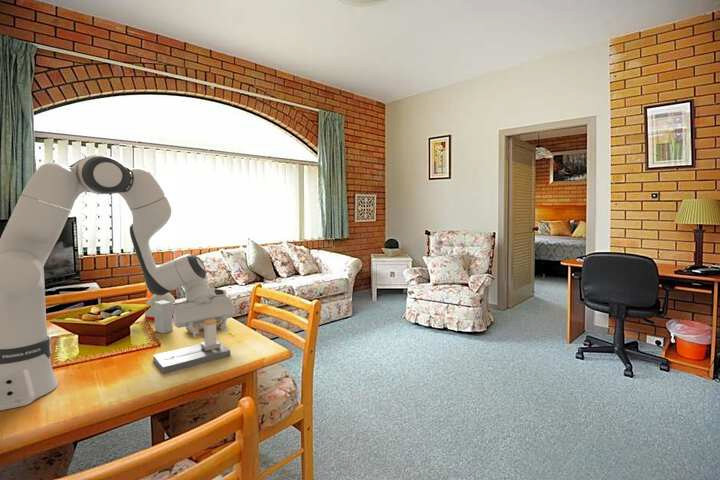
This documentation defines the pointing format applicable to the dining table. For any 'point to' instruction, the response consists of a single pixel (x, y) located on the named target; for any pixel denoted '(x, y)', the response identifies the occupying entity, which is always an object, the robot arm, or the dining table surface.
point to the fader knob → (210, 335)
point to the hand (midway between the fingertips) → (210, 332)
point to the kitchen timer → (167, 297)
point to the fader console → (188, 357)
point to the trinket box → (201, 326)
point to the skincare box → (163, 316)
